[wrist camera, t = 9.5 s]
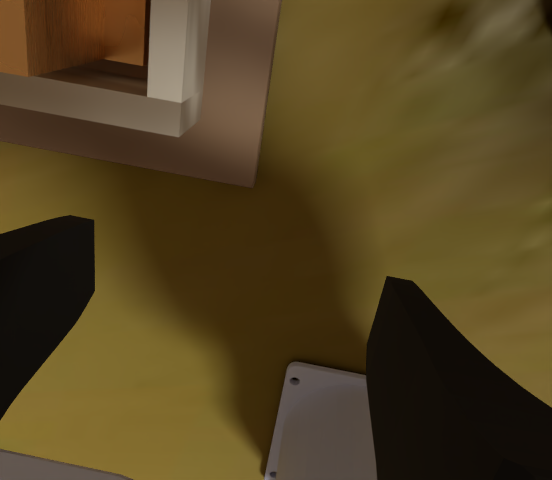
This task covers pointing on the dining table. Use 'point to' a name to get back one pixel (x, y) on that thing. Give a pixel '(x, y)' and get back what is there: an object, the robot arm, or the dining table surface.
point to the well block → (161, 95)
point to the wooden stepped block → (71, 34)
